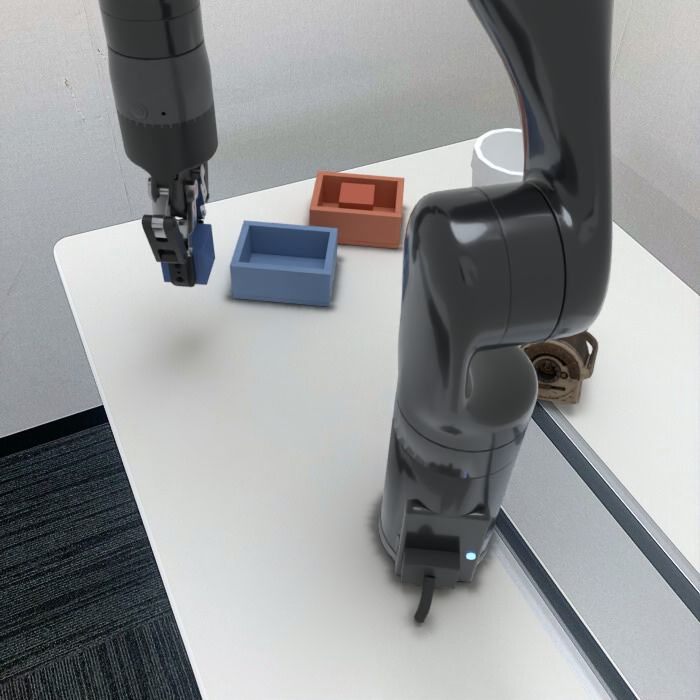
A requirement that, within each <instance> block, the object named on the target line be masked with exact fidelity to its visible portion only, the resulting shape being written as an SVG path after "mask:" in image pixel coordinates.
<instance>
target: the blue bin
mask: <svg viewBox="0 0 700 700" xmlns="http://www.w3.org/2000/svg"><path fill="white" fill-rule="evenodd" d="M237 238H238V239H237V242H236V244H235V248H234V251H233V254H232V258H231V260H230V263H229V271H230V273H229V274H230V282H231V291H232V298H233V299H237V300H238V299H240V300H250V301H261V302H273V303H274V302H275V303H283V304H284V303H285V304H296V305H306V306H307V305H308V306H318V307H328V308H329V307H330V306H331V300H332V295H333V289H334V288H333V286H334V280H335V275H336V268H337V263H338V262H337V261H338V243H337V242H338V228H328V227H316V226H309V225H304V224H291V223H289V224H288V223H280V222H268V221H258V220H257V221H256V220H243V222H242V225H241V228H240V232H239V235H238V237H237Z"/></svg>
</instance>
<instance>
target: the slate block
mask: <svg viewBox="0 0 700 700" xmlns="http://www.w3.org/2000/svg"><path fill="white" fill-rule="evenodd" d="M212 227H213V226H212V224H211V223H204V224H201V223H197V226H196V228H195V229H194V231H193V232H192V245H193V257H194V264H195V271H196V278H197V280H196V283H195V285H200V286H207V285H208V283H209V280H210V276H211V273H212V270H213V267H214V264H215V260H216V252H215V243H214V236H213V228H212ZM181 235H182V238H183V234H182V233H181ZM160 267H161V272H162V278H163V282H164V283H171V278H170V272H169V267H168V263H163V262H160Z"/></svg>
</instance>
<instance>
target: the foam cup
mask: <svg viewBox="0 0 700 700" xmlns="http://www.w3.org/2000/svg"><path fill="white" fill-rule="evenodd" d="M470 168H471V175H472V176H471V187H476V186H485V185H493V184H502V183H511V182H521V181H522V179H523V168H524V152H523V137H522V129H521V128H513V127H511V128H510V127H505V128H498V129H492V130H489V131H487V132H485V133H484V134H482V135H480V136H478V137H477V140H476V142H475V144H474V145H473V151H472V156H471V161H470Z"/></svg>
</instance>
